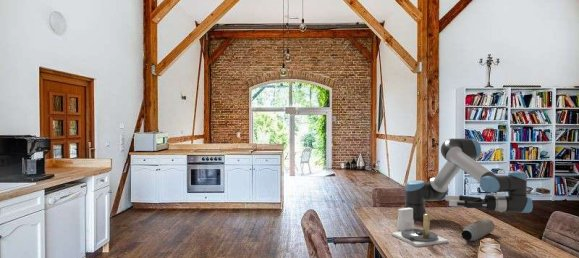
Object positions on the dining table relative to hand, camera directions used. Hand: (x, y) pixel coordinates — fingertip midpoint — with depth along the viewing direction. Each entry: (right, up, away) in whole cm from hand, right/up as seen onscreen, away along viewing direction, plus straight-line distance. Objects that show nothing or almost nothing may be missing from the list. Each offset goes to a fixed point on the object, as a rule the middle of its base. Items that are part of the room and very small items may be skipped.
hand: (447, 200), depth 184 cm
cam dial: (-11, -21, +9) cm, 25 cm away
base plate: (-11, -22, +10) cm, 26 cm away
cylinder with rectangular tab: (-13, -22, +26) cm, 36 cm away
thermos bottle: (+32, -18, +22) cm, 43 cm away
